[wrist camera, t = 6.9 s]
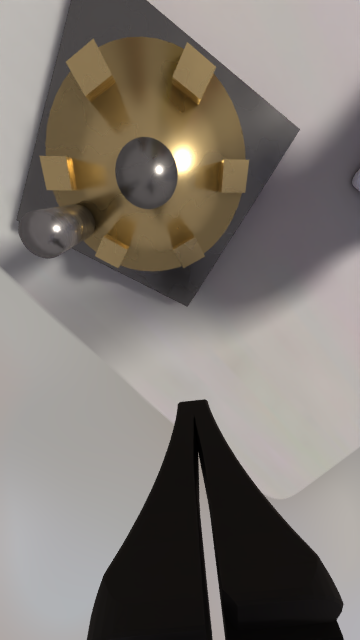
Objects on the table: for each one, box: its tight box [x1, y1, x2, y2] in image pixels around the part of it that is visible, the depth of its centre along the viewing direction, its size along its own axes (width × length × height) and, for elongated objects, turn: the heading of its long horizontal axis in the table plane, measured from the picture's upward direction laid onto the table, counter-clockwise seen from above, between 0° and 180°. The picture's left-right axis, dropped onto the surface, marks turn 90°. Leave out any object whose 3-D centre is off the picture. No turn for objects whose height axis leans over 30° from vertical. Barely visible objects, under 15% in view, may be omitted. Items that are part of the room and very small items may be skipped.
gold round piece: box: [19, 37, 249, 271], centre depth 11 cm, size 10×10×6 cm
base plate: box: [17, 0, 300, 307], centre depth 15 cm, size 12×12×2 cm
